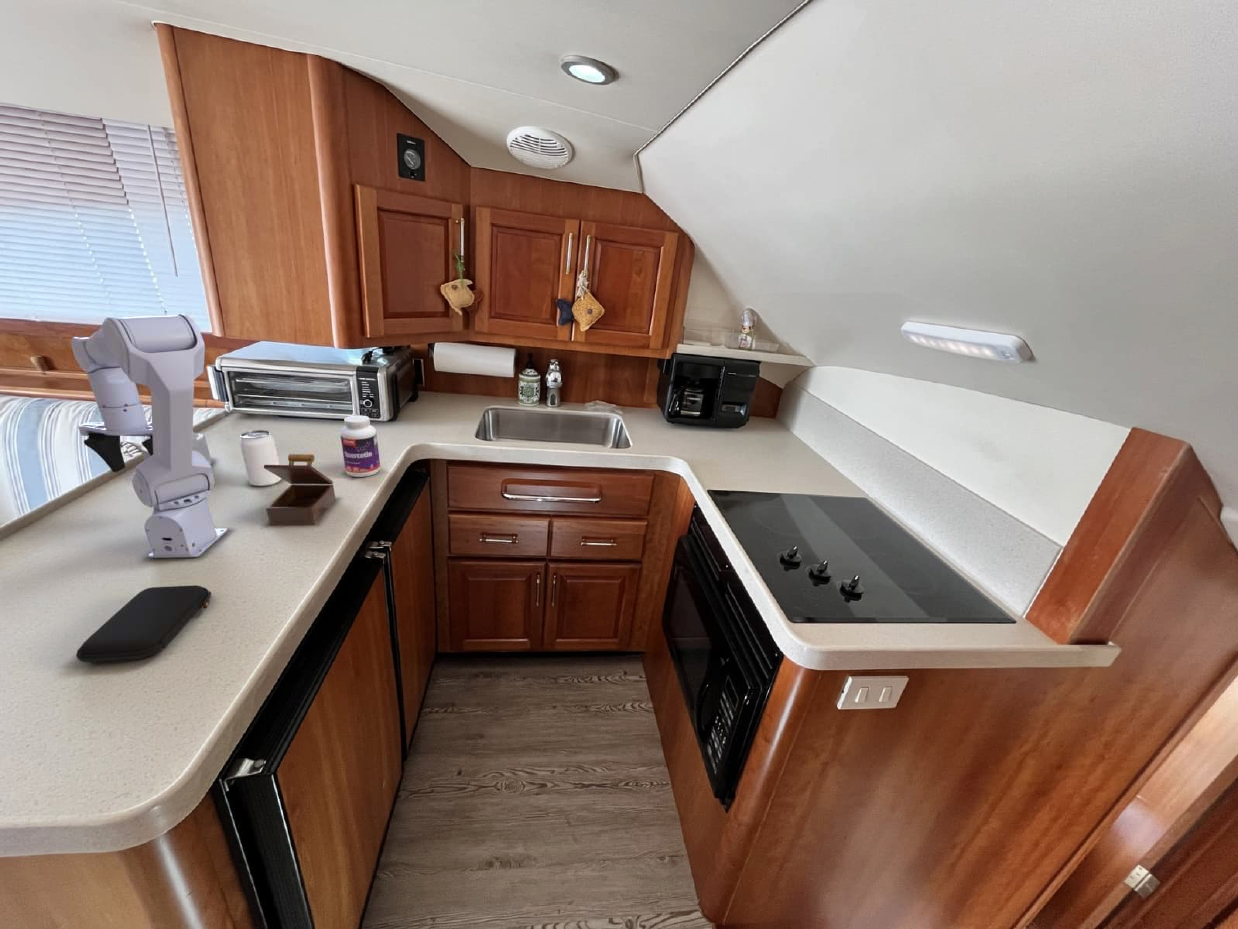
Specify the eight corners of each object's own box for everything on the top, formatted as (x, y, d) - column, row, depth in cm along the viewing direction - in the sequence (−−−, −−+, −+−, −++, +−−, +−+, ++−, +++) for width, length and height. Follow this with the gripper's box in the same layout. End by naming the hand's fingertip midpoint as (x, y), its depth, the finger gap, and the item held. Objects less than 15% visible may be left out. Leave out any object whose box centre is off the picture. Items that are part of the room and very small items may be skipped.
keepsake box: (315, 524, 101) (312, 508, 100) (269, 524, 100) (265, 508, 98) (335, 499, 112) (333, 484, 110) (294, 499, 110) (291, 484, 109)
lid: (310, 468, 99) (313, 446, 100) (263, 468, 97) (267, 445, 99) (332, 484, 110) (335, 464, 111) (290, 484, 108) (294, 464, 110)
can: (266, 488, 114) (255, 440, 109) (242, 484, 115) (230, 436, 110) (288, 478, 119) (279, 431, 115) (266, 473, 120) (255, 427, 116)
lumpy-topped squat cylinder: (217, 459, 126) (209, 427, 122) (188, 480, 114) (178, 446, 111) (170, 459, 124) (160, 427, 120) (135, 481, 112) (123, 446, 109)
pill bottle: (342, 479, 121) (333, 424, 115) (349, 466, 128) (342, 413, 123) (378, 478, 123) (371, 423, 118) (383, 465, 130) (377, 413, 125)
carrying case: (165, 663, 67) (224, 595, 80) (159, 646, 65) (220, 579, 79) (71, 670, 64) (148, 598, 78) (63, 652, 63) (142, 582, 77)
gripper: (179, 399, 94) (196, 463, 100) (92, 395, 92) (115, 461, 98) (152, 410, 88) (172, 478, 93) (58, 406, 86) (84, 476, 91)
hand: (141, 470), depth 95 cm, fingers open, 7 cm apart
